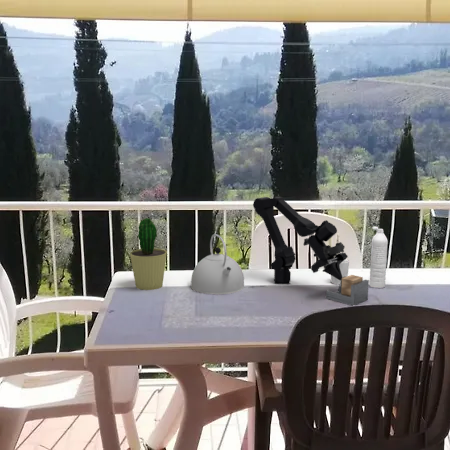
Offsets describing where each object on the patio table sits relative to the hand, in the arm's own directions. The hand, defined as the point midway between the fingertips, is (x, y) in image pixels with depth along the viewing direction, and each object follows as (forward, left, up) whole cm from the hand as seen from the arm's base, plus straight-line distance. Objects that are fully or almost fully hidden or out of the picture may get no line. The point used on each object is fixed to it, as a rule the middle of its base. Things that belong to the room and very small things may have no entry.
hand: (341, 279), depth 219 cm
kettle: (-49, +14, -8) cm, 51 cm away
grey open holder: (+2, -2, -7) cm, 8 cm away
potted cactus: (-78, +15, -8) cm, 80 cm away
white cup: (+4, +20, -8) cm, 22 cm away
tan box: (+3, -3, -6) cm, 7 cm away
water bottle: (+19, +16, -8) cm, 26 cm away
